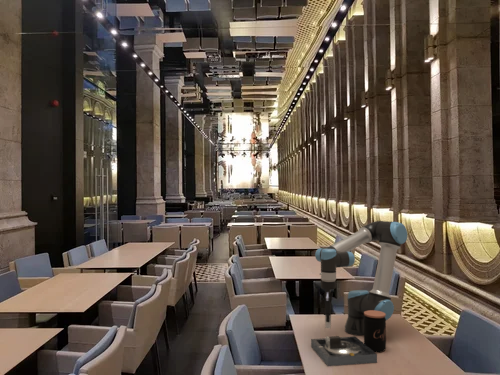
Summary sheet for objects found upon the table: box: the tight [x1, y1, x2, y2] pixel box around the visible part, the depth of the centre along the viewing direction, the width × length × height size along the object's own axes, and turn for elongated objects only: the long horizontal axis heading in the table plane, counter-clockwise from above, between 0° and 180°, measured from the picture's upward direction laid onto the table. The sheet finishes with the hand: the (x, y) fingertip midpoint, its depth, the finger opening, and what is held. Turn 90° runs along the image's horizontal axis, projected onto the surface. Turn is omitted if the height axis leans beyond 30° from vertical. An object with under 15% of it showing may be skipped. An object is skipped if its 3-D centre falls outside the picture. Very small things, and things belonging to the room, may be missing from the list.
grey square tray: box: [310, 335, 378, 367], centre depth 200 cm, size 24×24×5 cm
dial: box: [325, 335, 360, 355], centre depth 200 cm, size 17×17×6 cm
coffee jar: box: [363, 310, 387, 353], centre depth 207 cm, size 11×11×18 cm
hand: (328, 327), depth 203 cm, fingers closed
